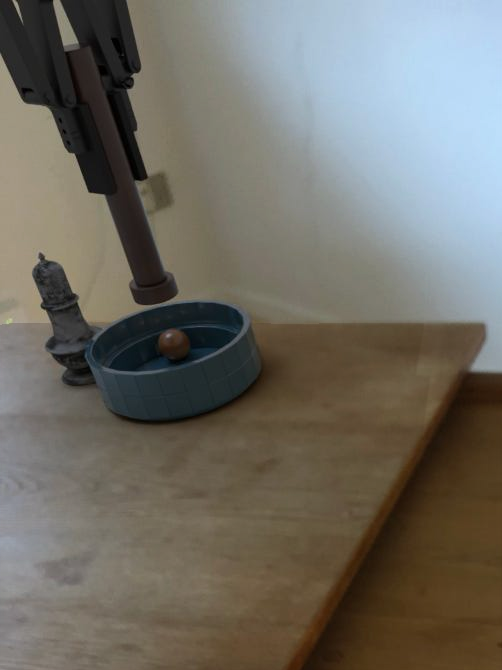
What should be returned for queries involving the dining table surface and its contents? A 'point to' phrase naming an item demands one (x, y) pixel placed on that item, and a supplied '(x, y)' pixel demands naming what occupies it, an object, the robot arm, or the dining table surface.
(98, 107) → the brown pestle
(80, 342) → the salt shaker
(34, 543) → the dining table surface
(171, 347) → the brown ball
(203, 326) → the bowl
